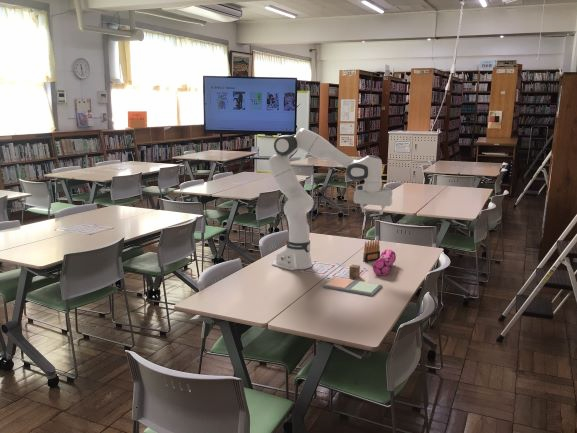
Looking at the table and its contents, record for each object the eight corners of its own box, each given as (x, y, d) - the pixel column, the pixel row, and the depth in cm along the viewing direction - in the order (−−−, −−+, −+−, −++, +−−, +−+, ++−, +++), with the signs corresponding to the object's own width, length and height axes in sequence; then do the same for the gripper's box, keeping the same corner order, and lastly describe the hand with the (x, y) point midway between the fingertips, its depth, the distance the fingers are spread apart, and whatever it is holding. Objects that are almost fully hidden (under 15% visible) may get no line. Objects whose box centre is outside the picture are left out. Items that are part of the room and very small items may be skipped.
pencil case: (391, 277, 247) (391, 258, 245) (372, 275, 250) (372, 256, 248) (397, 265, 267) (397, 247, 265) (379, 263, 270) (379, 246, 268)
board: (322, 287, 234) (322, 284, 234) (334, 278, 246) (334, 276, 245) (372, 296, 222) (372, 293, 221) (382, 286, 234) (382, 284, 233)
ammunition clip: (378, 258, 278) (378, 238, 276) (380, 259, 277) (380, 239, 274) (363, 261, 273) (363, 241, 271) (365, 262, 272) (365, 241, 269)
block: (349, 277, 247) (349, 266, 246) (352, 275, 250) (352, 264, 249) (356, 279, 245) (356, 267, 244) (359, 276, 249) (359, 265, 247)
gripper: (394, 187, 249) (393, 213, 252) (357, 184, 259) (356, 210, 262) (390, 189, 243) (389, 216, 246) (352, 186, 253) (352, 212, 256)
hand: (372, 213), depth 254 cm, fingers open, 8 cm apart
